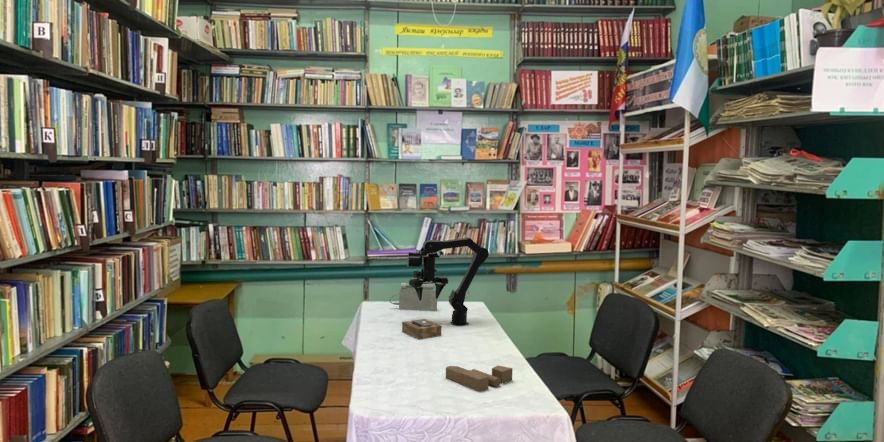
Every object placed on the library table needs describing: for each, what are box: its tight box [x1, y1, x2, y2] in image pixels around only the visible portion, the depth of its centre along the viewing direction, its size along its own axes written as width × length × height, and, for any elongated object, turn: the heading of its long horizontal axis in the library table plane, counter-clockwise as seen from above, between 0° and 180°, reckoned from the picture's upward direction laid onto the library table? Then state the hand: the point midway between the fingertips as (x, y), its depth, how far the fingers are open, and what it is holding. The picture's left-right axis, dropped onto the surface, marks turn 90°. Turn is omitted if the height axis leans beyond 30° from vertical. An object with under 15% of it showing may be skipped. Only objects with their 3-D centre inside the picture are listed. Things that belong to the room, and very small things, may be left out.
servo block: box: [411, 319, 432, 327], centre depth 271 cm, size 4×10×6 cm, turn 33°
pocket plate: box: [401, 318, 443, 340], centre depth 271 cm, size 12×14×4 cm
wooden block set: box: [445, 365, 513, 392], centre depth 214 cm, size 17×6×18 cm
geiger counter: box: [389, 282, 438, 312], centre depth 316 cm, size 14×6×25 cm
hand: (428, 299), depth 286 cm, fingers open, 9 cm apart
